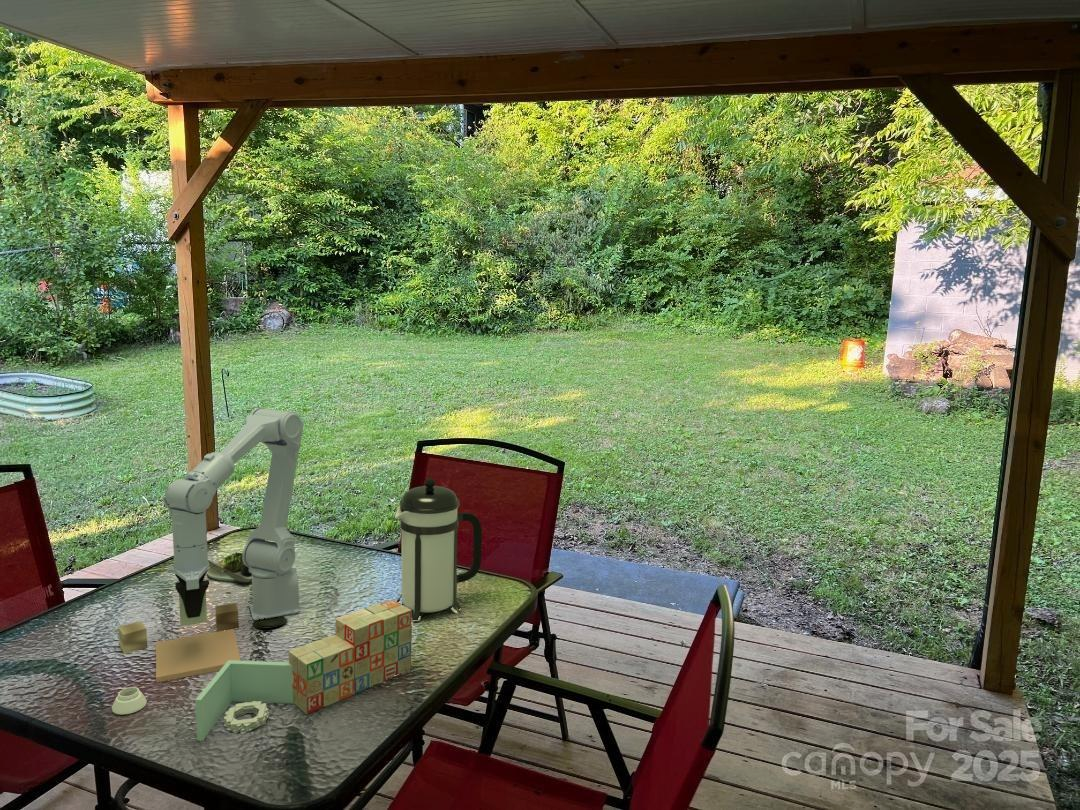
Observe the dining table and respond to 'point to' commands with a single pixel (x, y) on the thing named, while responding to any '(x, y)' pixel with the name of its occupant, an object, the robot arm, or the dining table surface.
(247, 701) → the right angle wall
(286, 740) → the dining table surface
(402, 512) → the coffee press
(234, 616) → the walnut block
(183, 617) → the sage block
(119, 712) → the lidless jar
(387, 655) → the stack of blocks
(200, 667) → the tan flat square slab
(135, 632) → the pale oak block
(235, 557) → the salad plate
